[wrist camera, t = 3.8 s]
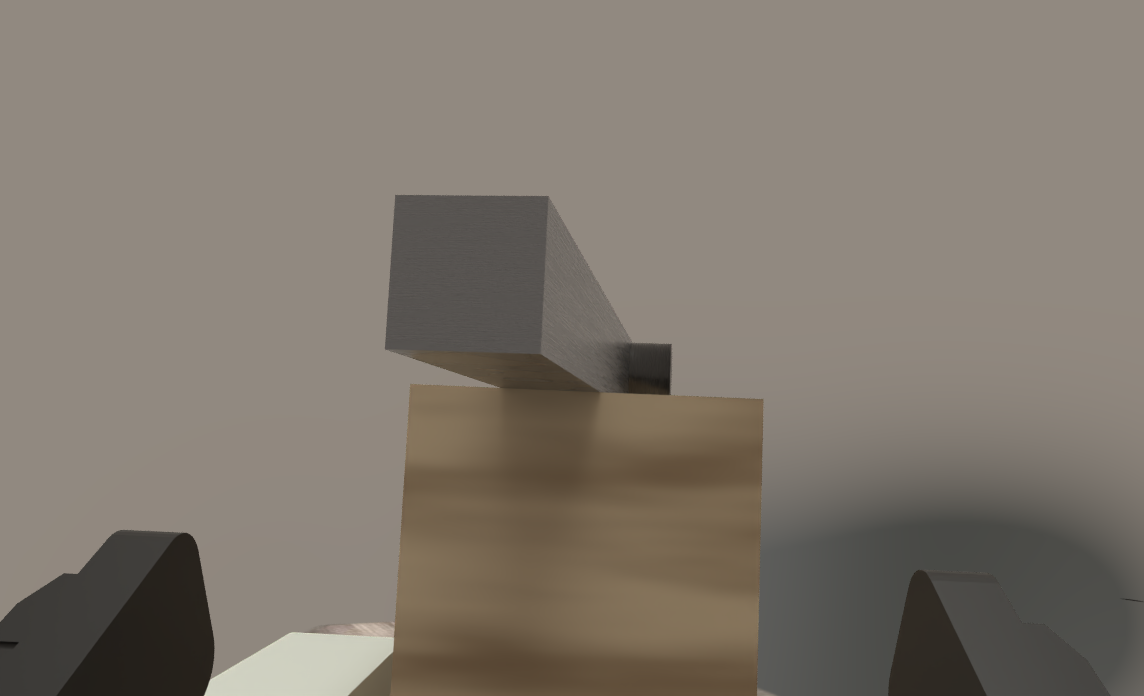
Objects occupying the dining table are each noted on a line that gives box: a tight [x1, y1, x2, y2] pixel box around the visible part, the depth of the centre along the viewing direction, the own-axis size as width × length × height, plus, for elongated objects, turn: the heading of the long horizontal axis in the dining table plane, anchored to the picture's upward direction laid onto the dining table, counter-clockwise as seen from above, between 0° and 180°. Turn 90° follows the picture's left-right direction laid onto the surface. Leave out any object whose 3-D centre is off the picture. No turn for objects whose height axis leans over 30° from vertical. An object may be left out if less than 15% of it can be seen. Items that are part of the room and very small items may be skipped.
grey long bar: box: [385, 195, 672, 395], centre depth 28 cm, size 24×6×3 cm, turn 172°
